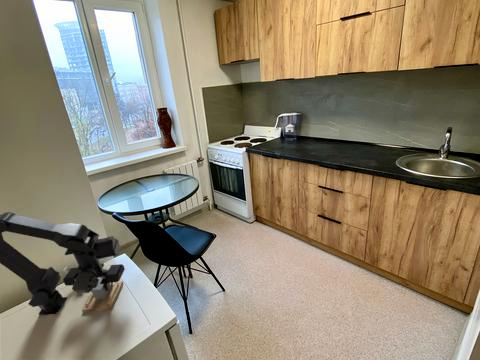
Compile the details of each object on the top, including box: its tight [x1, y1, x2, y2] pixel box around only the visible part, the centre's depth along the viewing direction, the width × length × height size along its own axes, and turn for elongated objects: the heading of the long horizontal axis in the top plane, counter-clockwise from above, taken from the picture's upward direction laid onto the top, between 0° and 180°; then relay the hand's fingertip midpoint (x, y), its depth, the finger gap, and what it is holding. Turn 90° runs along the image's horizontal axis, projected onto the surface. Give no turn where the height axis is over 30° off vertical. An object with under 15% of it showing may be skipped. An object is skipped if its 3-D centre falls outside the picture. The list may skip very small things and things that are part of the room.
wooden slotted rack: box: [81, 280, 124, 313], centre depth 91 cm, size 10×11×5 cm
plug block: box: [91, 278, 111, 300], centre depth 91 cm, size 4×5×5 cm
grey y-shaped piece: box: [62, 266, 71, 275], centre depth 97 cm, size 7×2×8 cm, turn 84°
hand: (102, 290), depth 91 cm, fingers open, 4 cm apart
